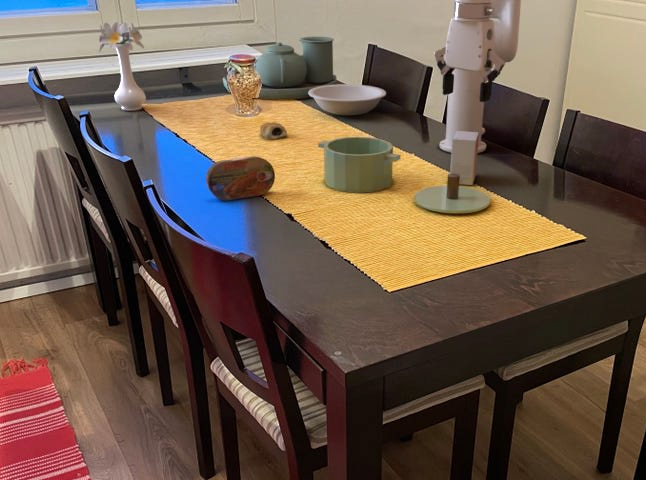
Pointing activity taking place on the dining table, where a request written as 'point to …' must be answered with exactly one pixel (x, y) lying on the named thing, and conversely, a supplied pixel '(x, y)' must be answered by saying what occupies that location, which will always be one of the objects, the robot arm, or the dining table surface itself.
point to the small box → (464, 156)
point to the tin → (240, 178)
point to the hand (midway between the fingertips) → (465, 97)
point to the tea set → (295, 69)
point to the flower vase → (124, 63)
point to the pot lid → (452, 197)
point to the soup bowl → (347, 98)
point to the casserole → (358, 163)
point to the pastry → (272, 130)
